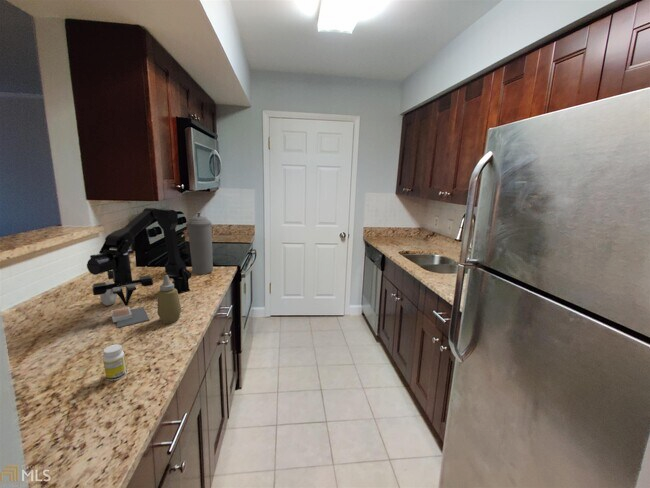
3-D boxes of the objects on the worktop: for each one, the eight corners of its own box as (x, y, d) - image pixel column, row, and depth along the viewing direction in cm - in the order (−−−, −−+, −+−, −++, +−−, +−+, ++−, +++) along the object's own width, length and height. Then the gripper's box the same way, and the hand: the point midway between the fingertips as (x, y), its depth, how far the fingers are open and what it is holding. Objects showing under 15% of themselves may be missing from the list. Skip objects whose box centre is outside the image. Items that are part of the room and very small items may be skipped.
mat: (143, 307, 122) (143, 307, 122) (149, 320, 111) (149, 319, 111) (114, 314, 116) (114, 313, 116) (117, 328, 105) (117, 327, 105)
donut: (109, 309, 120) (106, 286, 118) (100, 309, 119) (96, 286, 117) (120, 299, 130) (117, 278, 128) (111, 300, 129) (108, 278, 127)
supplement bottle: (113, 370, 82) (109, 343, 81) (130, 369, 83) (127, 343, 81) (101, 381, 78) (97, 353, 76) (120, 381, 78) (116, 353, 76)
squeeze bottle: (186, 317, 115) (183, 273, 111) (170, 326, 107) (165, 280, 103) (170, 314, 117) (166, 271, 113) (153, 323, 110) (148, 277, 106)
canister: (206, 267, 179) (202, 210, 171) (219, 271, 171) (215, 212, 164) (186, 272, 168) (181, 212, 161) (198, 277, 161) (194, 213, 154)
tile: (131, 313, 112) (112, 318, 108) (132, 318, 112) (113, 322, 109) (129, 306, 118) (110, 310, 114) (129, 310, 118) (111, 314, 115)
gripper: (146, 258, 122) (150, 293, 125) (89, 265, 111) (95, 304, 114) (151, 264, 114) (155, 302, 117) (90, 273, 102) (96, 314, 105)
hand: (126, 305), depth 114 cm, fingers closed
